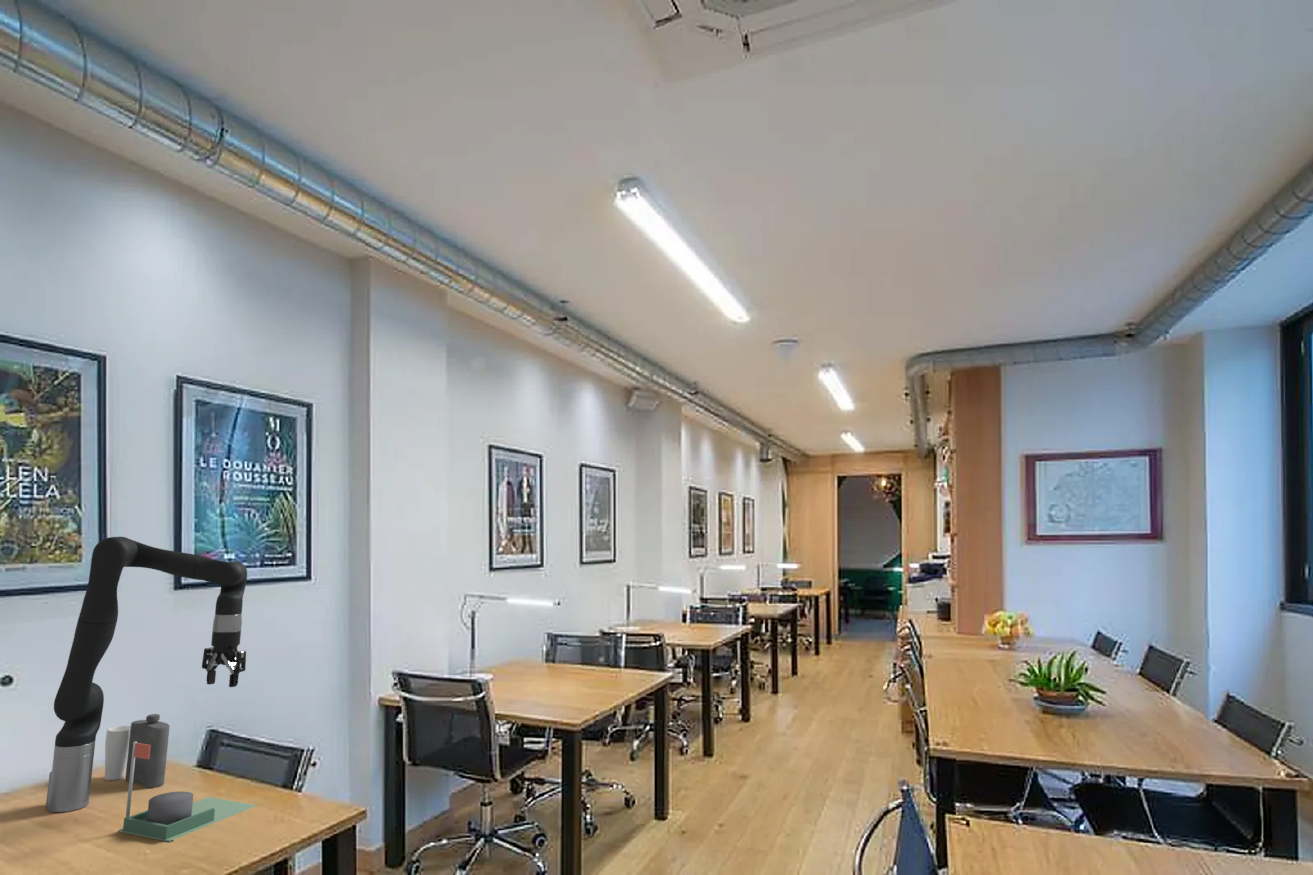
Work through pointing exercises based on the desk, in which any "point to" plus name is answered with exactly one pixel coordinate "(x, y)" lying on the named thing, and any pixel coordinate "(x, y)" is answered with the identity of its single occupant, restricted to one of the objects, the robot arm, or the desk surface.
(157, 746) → the flask
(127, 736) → the drinking glass
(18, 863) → the desk surface
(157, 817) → the grey domed cylinder
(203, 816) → the mini golf green
